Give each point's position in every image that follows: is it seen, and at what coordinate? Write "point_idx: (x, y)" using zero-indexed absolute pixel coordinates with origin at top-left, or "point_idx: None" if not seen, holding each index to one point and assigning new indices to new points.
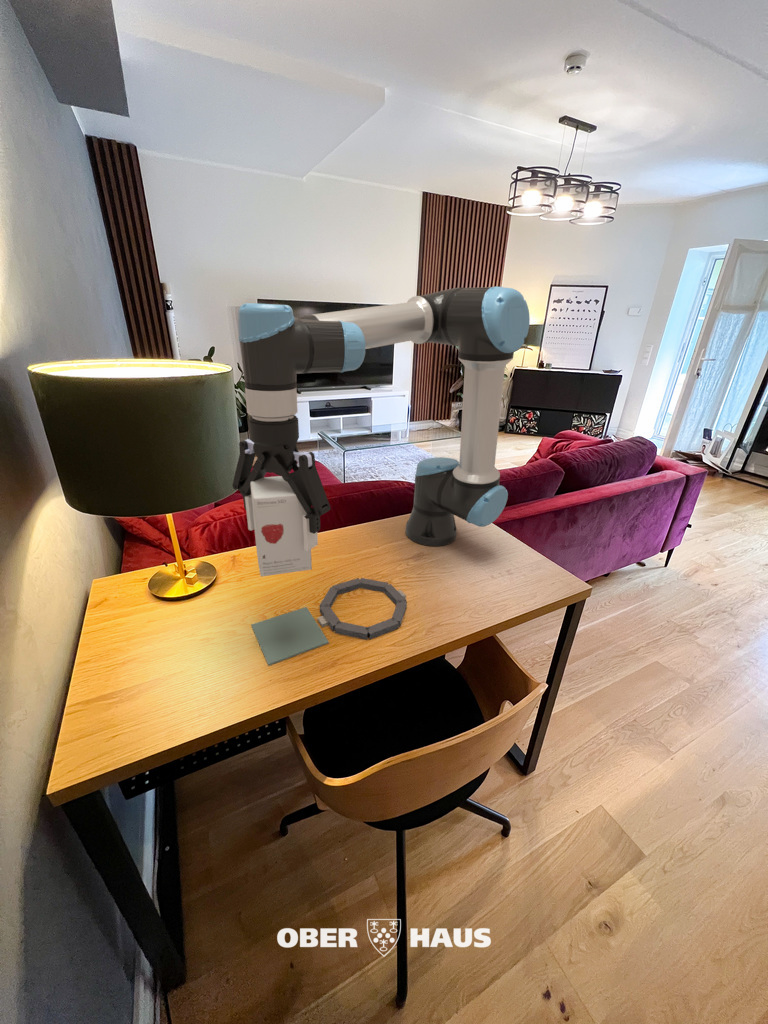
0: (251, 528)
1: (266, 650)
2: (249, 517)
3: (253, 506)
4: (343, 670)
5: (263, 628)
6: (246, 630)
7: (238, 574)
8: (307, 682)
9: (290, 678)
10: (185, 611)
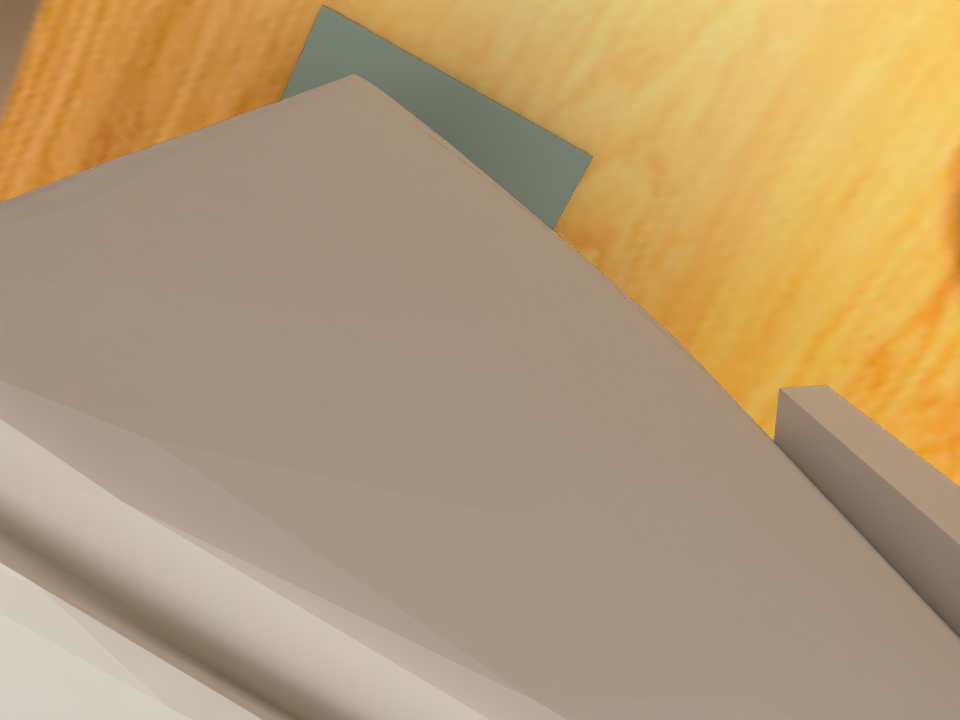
0: (792, 403)
1: (397, 68)
2: (884, 469)
3: (370, 296)
4: (25, 189)
5: (521, 171)
6: (588, 120)
7: (913, 387)
8: (99, 35)
9: (180, 7)
10: (951, 39)
